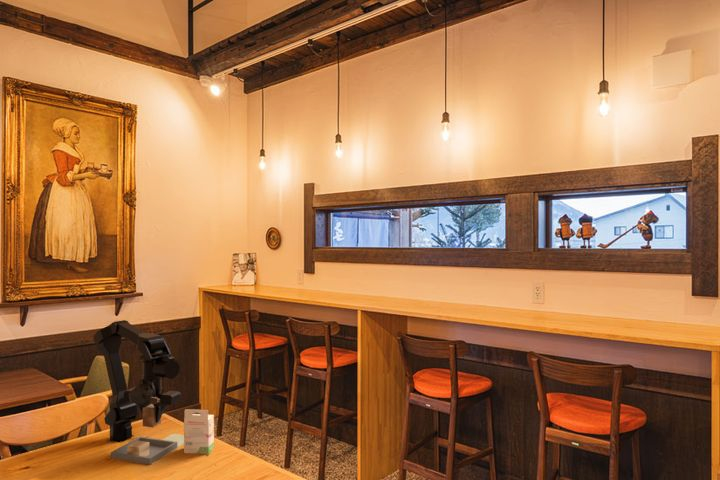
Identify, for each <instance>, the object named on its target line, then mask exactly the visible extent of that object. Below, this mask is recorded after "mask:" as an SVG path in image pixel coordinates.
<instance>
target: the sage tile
mask: <svg viewBox="0 0 720 480" xmlns="http://www.w3.org/2000/svg"><path fill="white" fill-rule="evenodd" d="M162 440H168V441H175V442H177V448H180V447H181V446H182V445H184V434H178V433H171V434H170V435H168V436H167V437H165V438H163V439H162Z"/></svg>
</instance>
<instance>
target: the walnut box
mask: <svg viewBox="0 0 720 480" xmlns="http://www.w3.org/2000/svg"><path fill="white" fill-rule="evenodd" d="M153 404H154V403H151V404H150V405H148V406H146V407H144V408H143V415H142V427H146V428H155V427H156V426H158V425H160V424H162V417H161V418H160V421H159V422H158V423H156V418H155V407H154V405H153Z"/></svg>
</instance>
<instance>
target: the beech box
mask: <svg viewBox="0 0 720 480" xmlns="http://www.w3.org/2000/svg"><path fill="white" fill-rule="evenodd" d="M127 454H132V455H138V456H144V457H146V456H148V455H149V442H145V441H136V442H134V443H132V444H130V445H128V446H127Z"/></svg>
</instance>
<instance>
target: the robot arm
mask: <svg viewBox="0 0 720 480" xmlns="http://www.w3.org/2000/svg"><path fill="white" fill-rule="evenodd" d="M123 338H124V339H125V340H126V341H129V342H131V343H132V344H134V345H136V350H137V351H138V352H139V353H141V356H139V358H138V359H139V360H140V361H142V378H140V379H139V383H138V385H137V386H133V387H131V388H129V389H128V385H127V380H126V376H125V372H124V367H123V363H122V359H121V355H120V349H121V346H122V343H123ZM93 342H94V343H95V347H96V349H97V351H98V352H99V353H100V354H102V355H103V357H104V362H105V367H106V372H107V377H108V380H109V385H110V390H111V395H112V396H111V399H110V402H109V405H108V406H109V411H108V412H107V414H106V415H105V416H104V422H105V425H106V426H109V438H108V439H106V441H108V442H114V443H123V442H125V441H127V440H131V439H132V438H133V437H134V436H135V434H133V426H132V421H133V420H136V418H137V414H138V412H139V411H138V410H140V411H141V415H142V416H143V408H144V407H146V406H148V405H150V404H153V405H154V407H155V418H156V423H158V422H159V421H160V418H161V419H162V417H163V414H164V411H165V410H166V408H167V406H169V405H173V404H175V403H177V402H179V401H181V400H182V393H181V392H180V391H178V390H169V391H166V392H164V391H165V387H162V380H165V379H167V380H174V379H175V378H176V377H177V376H178V375H179V373H180V369H181V367H180V363H178V361H176V360H175V357H174V356H172V353H171V350H170V348H169V347H168V344H167V342H166V340H165V337H163V335H161V334H157V333H150V332H149V333H148V332H145V331H144V330H142V329H140V328H138V327H136V326H135V325H134V324H131V323H130V322H129V321H128V320H125V319H124V320H123V319H122V320H115V321H113V322H111V323H110V324H109V325H107V326H105V327H103V328H101V329H99V330H97V331H96V332H95V334H94V335H93ZM162 392H164V393H162ZM152 399H153V400H155V399H156V400H157V401H156V402H155V403H152Z"/></svg>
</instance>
